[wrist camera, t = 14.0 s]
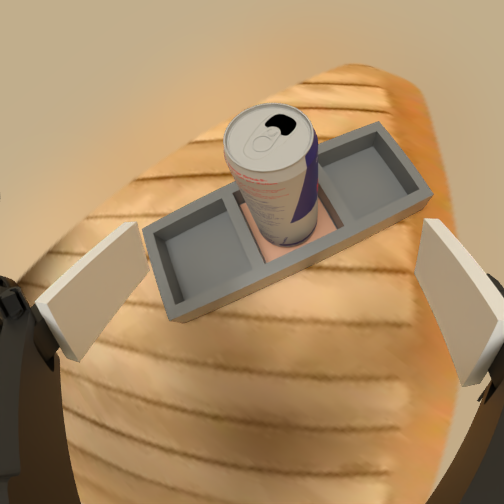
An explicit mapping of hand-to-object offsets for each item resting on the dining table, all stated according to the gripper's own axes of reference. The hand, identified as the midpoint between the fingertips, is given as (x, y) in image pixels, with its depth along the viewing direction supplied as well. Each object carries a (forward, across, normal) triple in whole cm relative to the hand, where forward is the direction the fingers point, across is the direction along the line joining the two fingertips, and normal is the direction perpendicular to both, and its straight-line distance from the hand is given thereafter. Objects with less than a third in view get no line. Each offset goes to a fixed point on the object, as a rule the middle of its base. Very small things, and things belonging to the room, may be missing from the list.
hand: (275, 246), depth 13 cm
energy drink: (+13, 0, -4) cm, 14 cm away
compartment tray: (+14, 0, -5) cm, 15 cm away
